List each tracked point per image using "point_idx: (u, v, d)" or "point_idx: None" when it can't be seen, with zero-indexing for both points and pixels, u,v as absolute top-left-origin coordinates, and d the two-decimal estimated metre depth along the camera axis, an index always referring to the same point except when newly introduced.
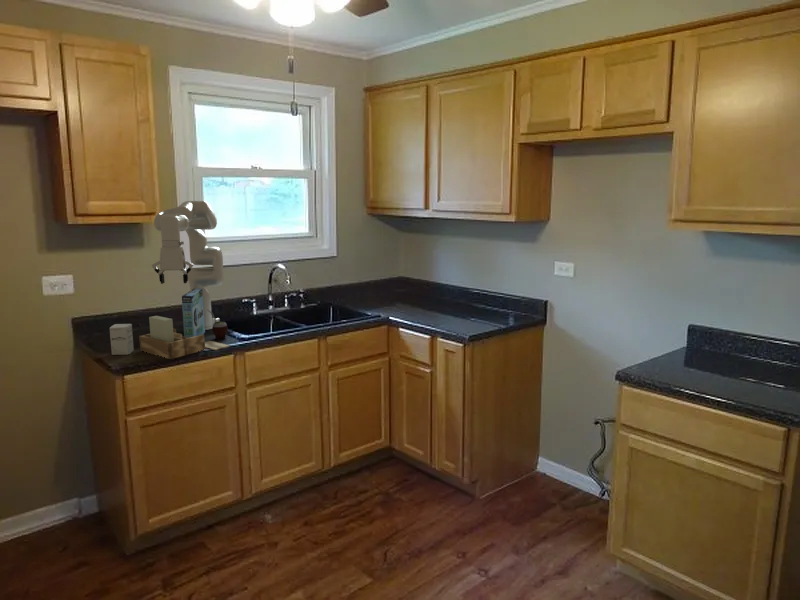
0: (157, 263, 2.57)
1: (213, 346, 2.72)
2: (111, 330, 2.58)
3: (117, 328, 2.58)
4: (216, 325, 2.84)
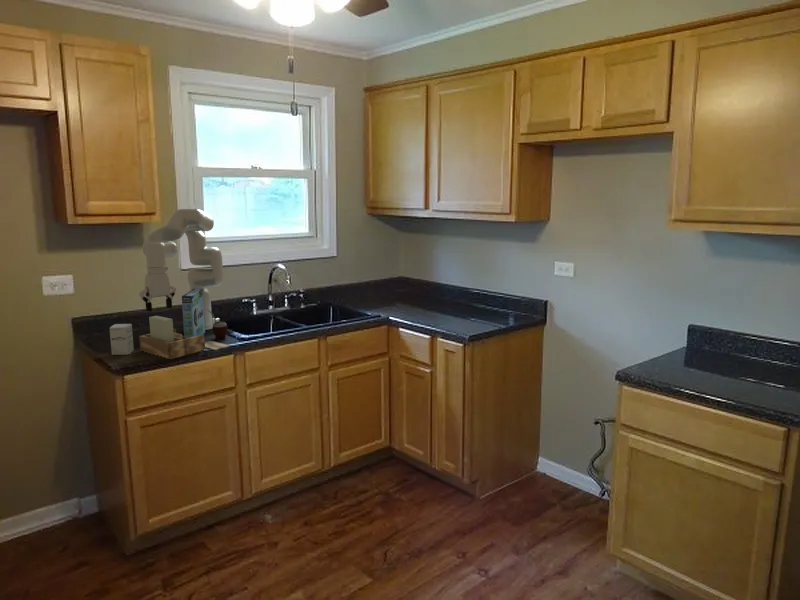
0: (145, 291, 2.52)
1: (213, 346, 2.72)
2: (111, 330, 2.58)
3: (117, 328, 2.58)
4: (216, 325, 2.84)
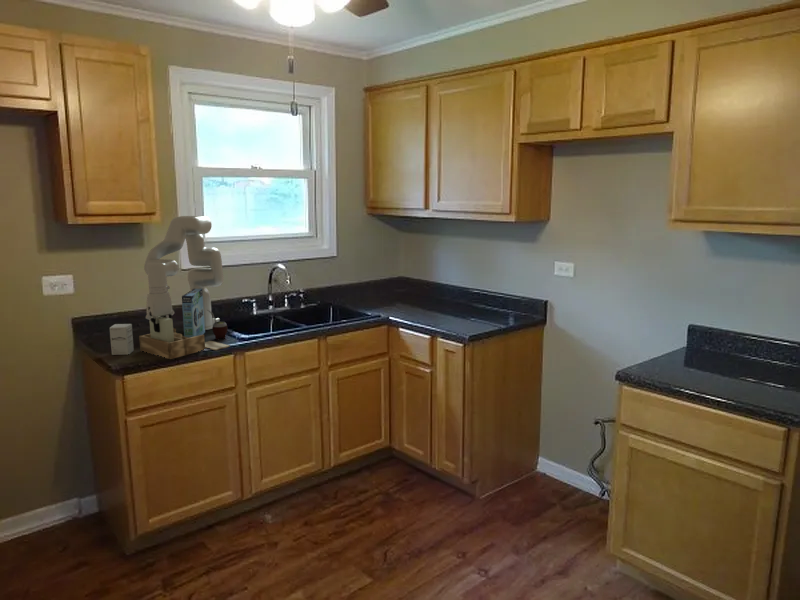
0: (150, 313, 2.56)
1: (213, 346, 2.72)
2: (111, 330, 2.58)
3: (117, 328, 2.58)
4: (216, 325, 2.84)
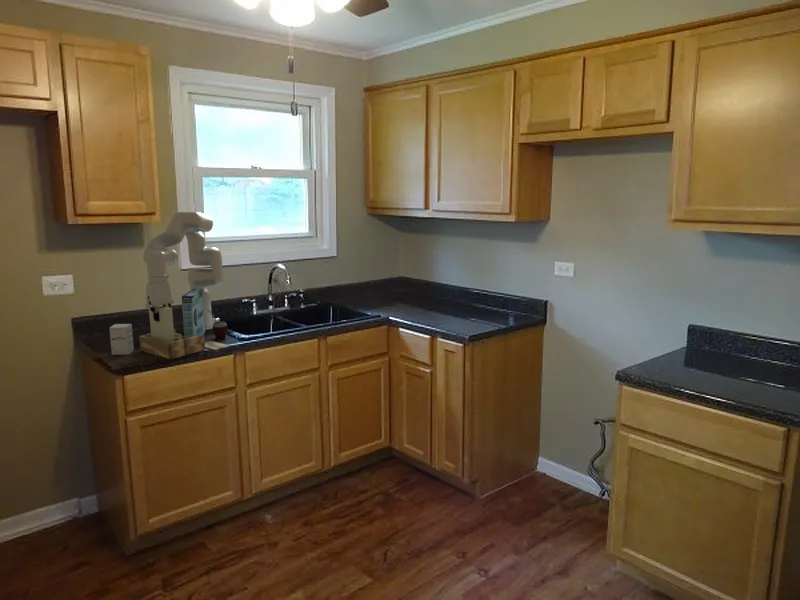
0: (149, 303, 2.55)
1: (213, 346, 2.72)
2: (111, 330, 2.58)
3: (117, 328, 2.58)
4: (216, 325, 2.84)
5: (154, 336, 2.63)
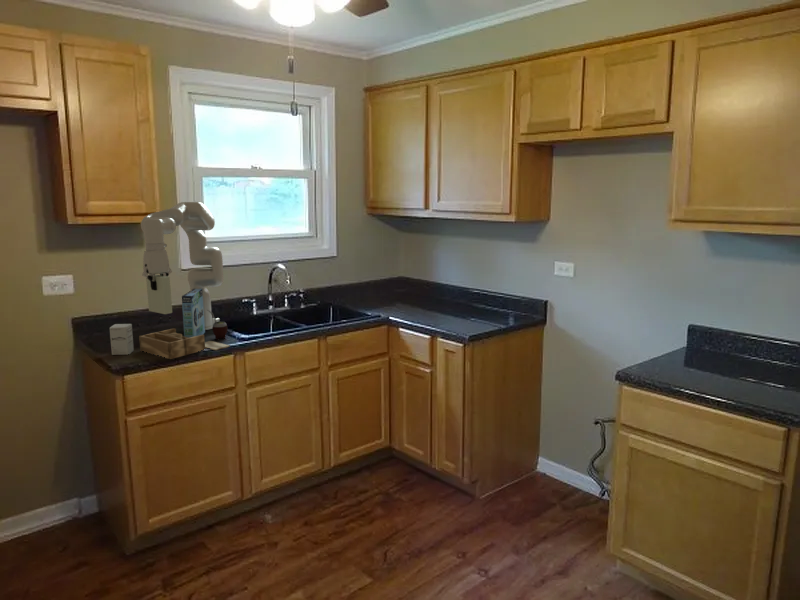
0: (147, 271, 2.52)
1: (213, 346, 2.72)
2: (111, 330, 2.58)
3: (117, 328, 2.58)
4: (216, 325, 2.84)
5: (151, 306, 2.60)
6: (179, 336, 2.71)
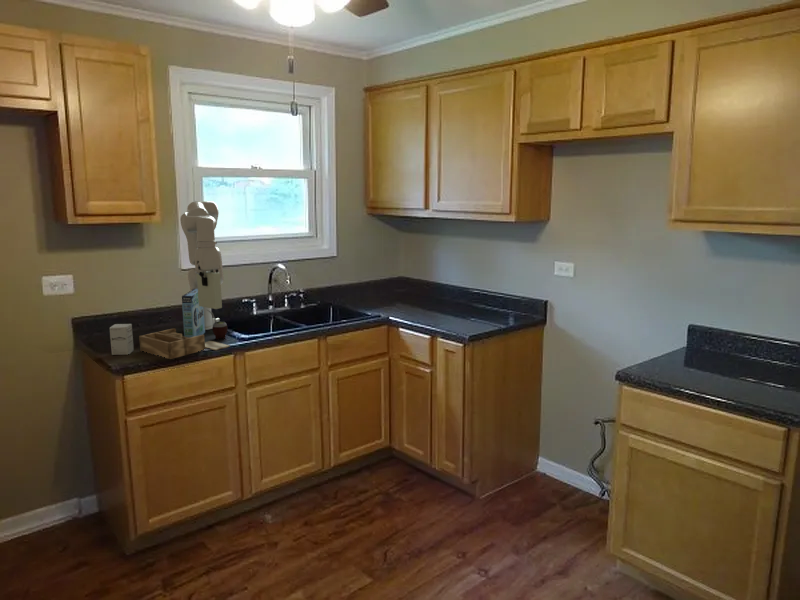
0: (199, 267, 2.63)
1: (213, 346, 2.72)
2: (111, 330, 2.58)
3: (117, 328, 2.58)
4: (216, 325, 2.84)
5: (201, 301, 2.71)
6: (179, 336, 2.71)
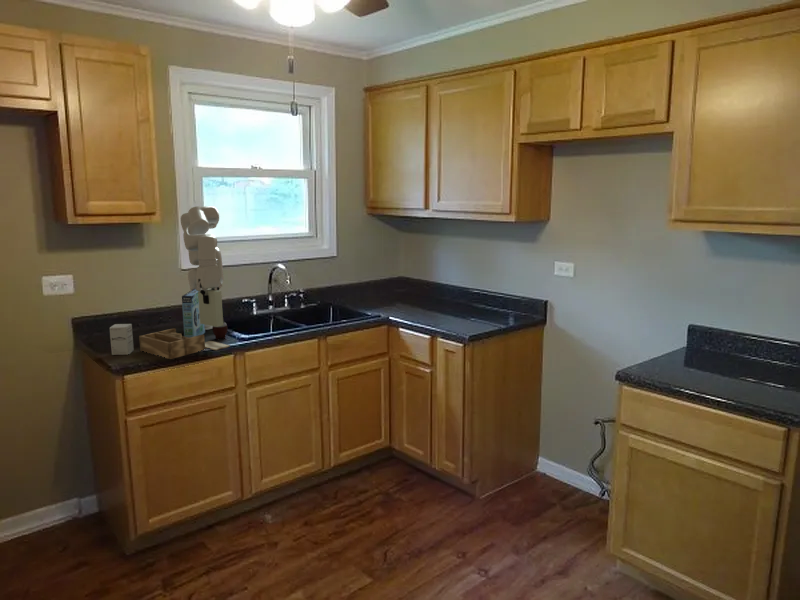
0: (200, 285, 2.64)
1: (213, 346, 2.72)
2: (111, 330, 2.58)
3: (117, 328, 2.58)
4: None
5: (203, 318, 2.72)
6: (179, 336, 2.71)
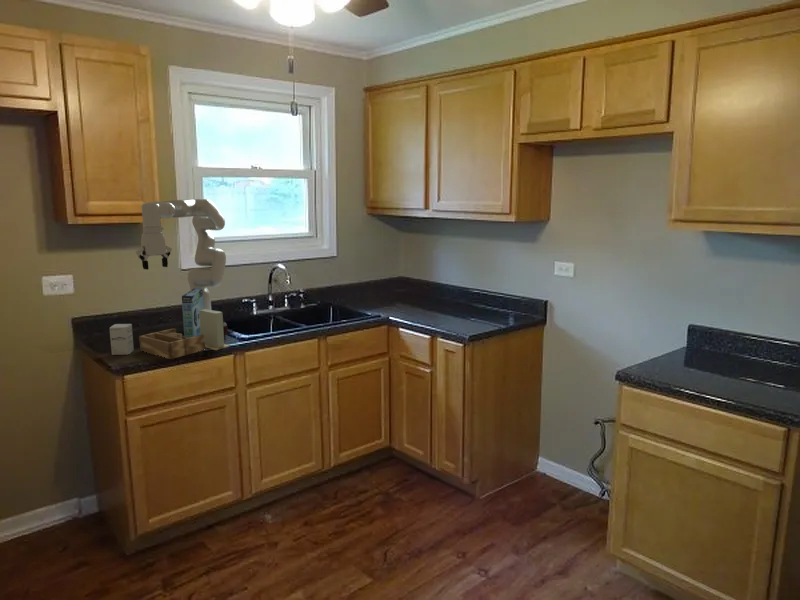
0: (142, 250, 2.63)
1: None
2: (111, 330, 2.58)
3: (117, 328, 2.58)
4: None
5: None
6: (179, 336, 2.71)
